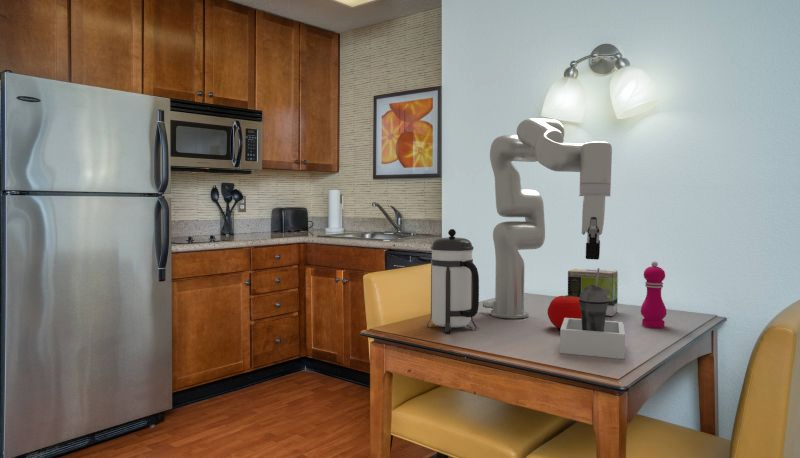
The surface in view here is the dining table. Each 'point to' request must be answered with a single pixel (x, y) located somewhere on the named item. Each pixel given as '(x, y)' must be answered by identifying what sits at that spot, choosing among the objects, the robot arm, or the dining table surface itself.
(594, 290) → the beverage cup
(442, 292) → the coffee press
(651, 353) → the dining table surface
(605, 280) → the tea box
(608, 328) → the box
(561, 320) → the tomato
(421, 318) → the dining table surface
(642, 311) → the pepper mill
